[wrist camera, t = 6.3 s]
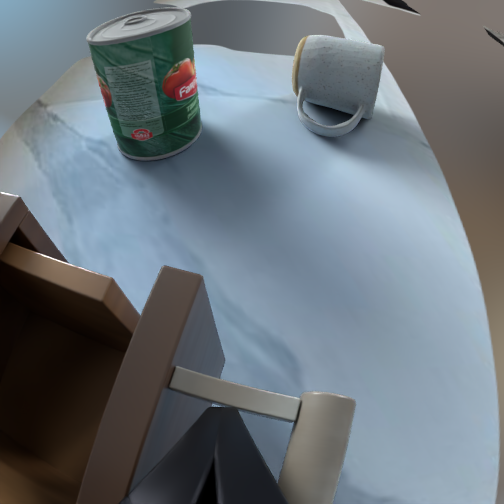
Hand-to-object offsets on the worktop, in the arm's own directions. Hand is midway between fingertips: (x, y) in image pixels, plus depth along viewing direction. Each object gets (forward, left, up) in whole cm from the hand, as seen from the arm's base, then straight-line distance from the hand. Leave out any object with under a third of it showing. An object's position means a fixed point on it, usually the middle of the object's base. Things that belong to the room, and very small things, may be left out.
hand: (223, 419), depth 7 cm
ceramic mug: (+29, -2, -9) cm, 30 cm away
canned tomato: (+21, +13, -9) cm, 26 cm away
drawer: (-2, +5, -8) cm, 10 cm away
